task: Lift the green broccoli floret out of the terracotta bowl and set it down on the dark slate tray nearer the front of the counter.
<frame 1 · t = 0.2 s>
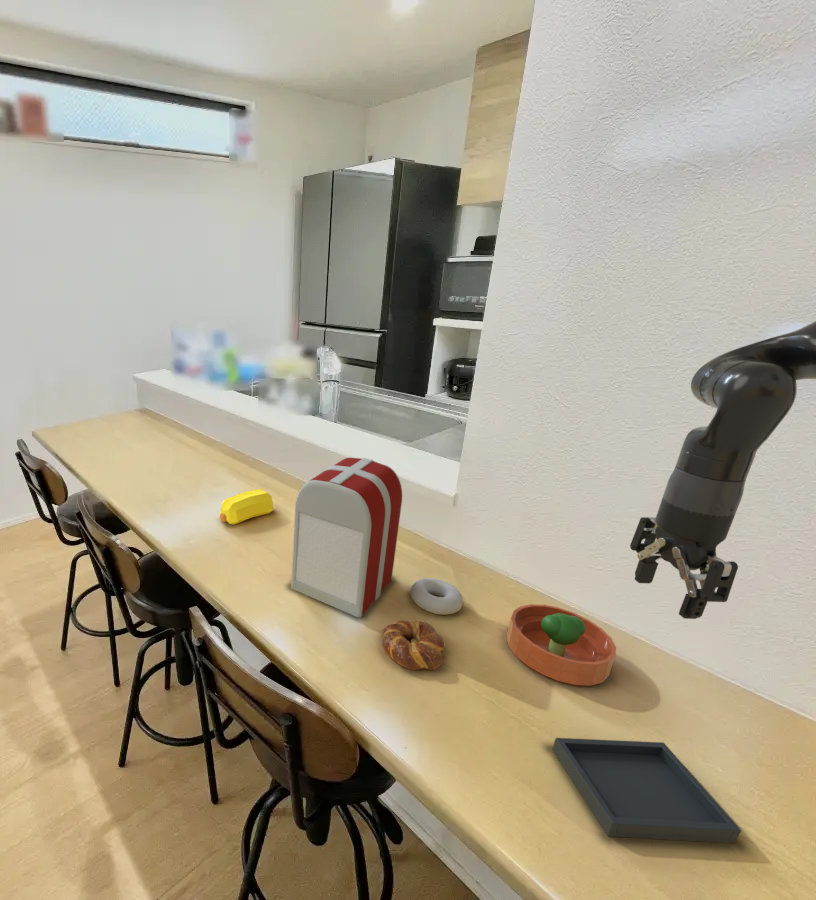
hand: (663, 598, 74), 18 cm above the breakfast bar, tool pointing down, fingers open, 8 cm apart
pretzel: (412, 650, 89), on the breakfast bar
yellow faceted capsule: (246, 516, 139), on the breakfast bar
red grey arched block: (342, 583, 109), on the breakfast bar
broccoli: (555, 651, 88), point 1 cm above the breakfast bar, touching bowl
bowl: (554, 654, 88), on the breakfast bar
tray: (635, 792, 65), on the breakfast bar
donut: (435, 603, 102), on the breakfast bar
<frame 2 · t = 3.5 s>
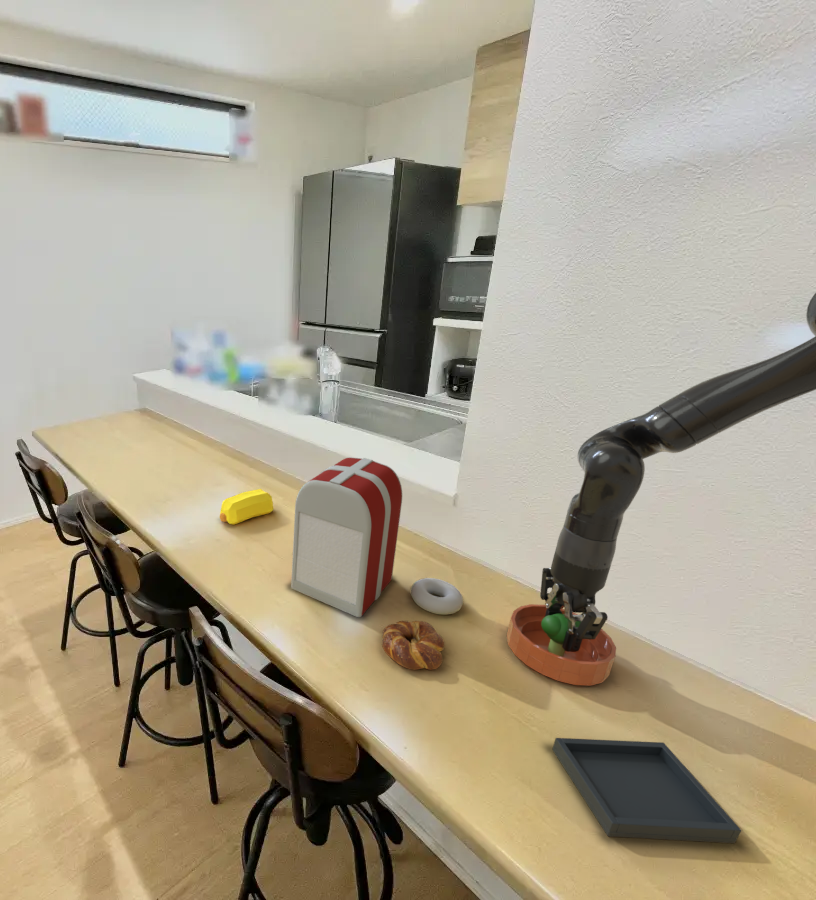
hand: (559, 638, 87), 4 cm above the breakfast bar, tool pointing down, fingers closed on broccoli, 5 cm apart
broccoli: (555, 651, 88), point 1 cm above the breakfast bar, touching bowl, gripper
everything else where it was.
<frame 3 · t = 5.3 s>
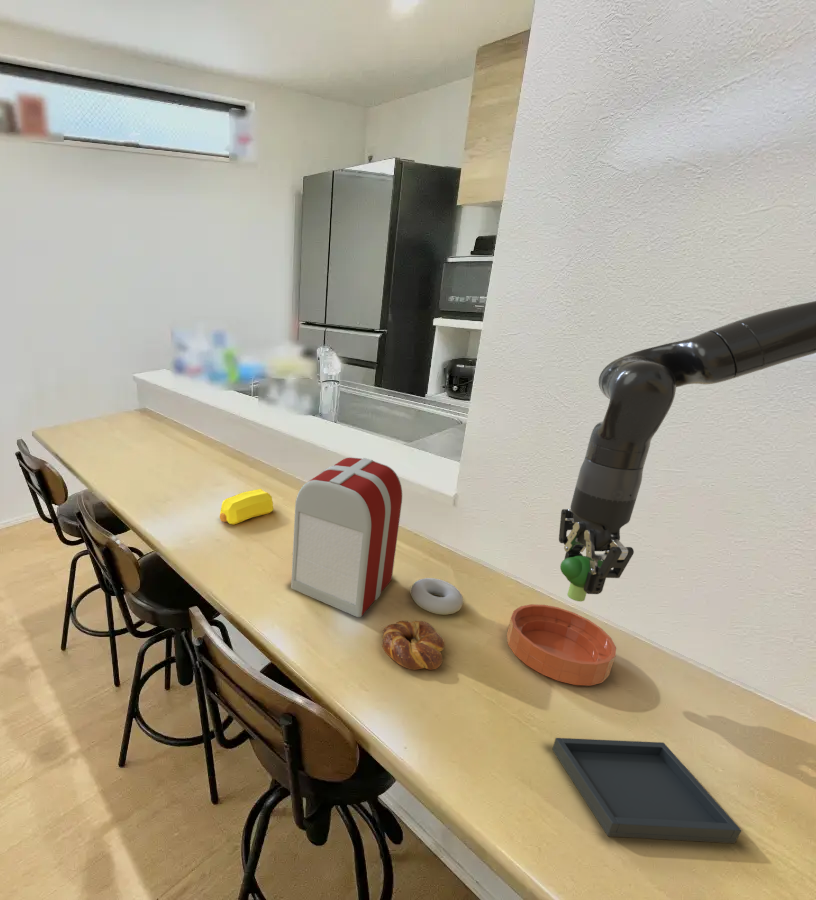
hand: (580, 581, 81), 16 cm above the breakfast bar, tool pointing down, fingers closed on broccoli, 5 cm apart
broccoli: (575, 597, 82), point 13 cm above the breakfast bar, touching gripper
everything else where it was.
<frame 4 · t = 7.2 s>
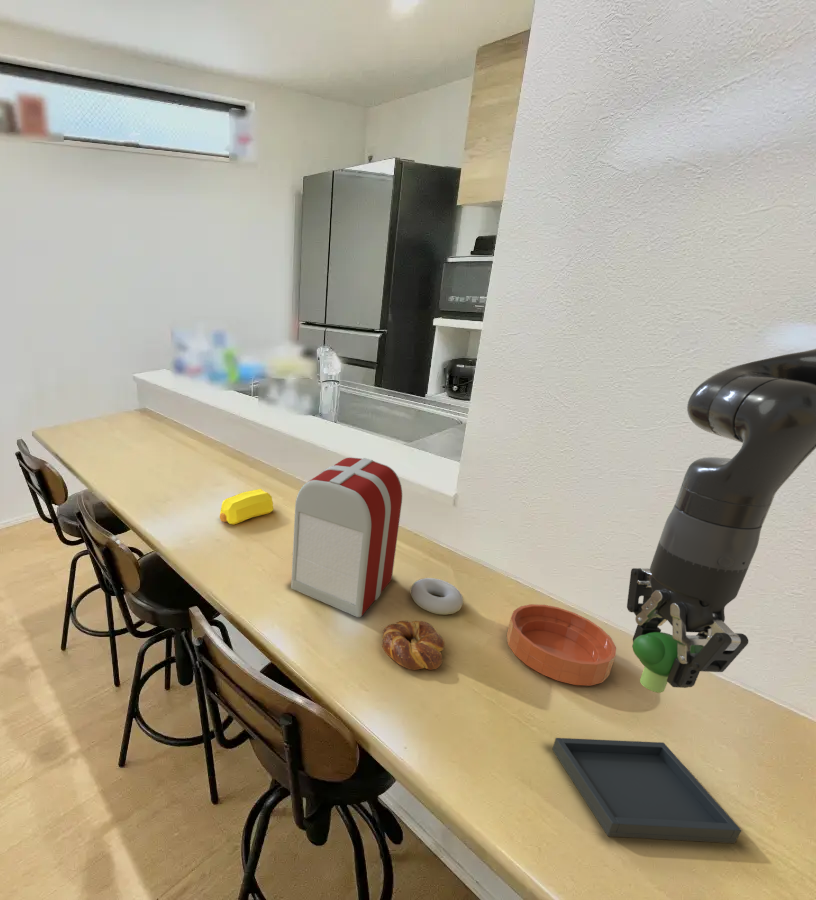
hand: (659, 666, 62), 18 cm above the breakfast bar, tool pointing down, fingers closed on broccoli, 5 cm apart
broccoli: (651, 685, 63), point 15 cm above the breakfast bar, touching gripper
everything else where it was.
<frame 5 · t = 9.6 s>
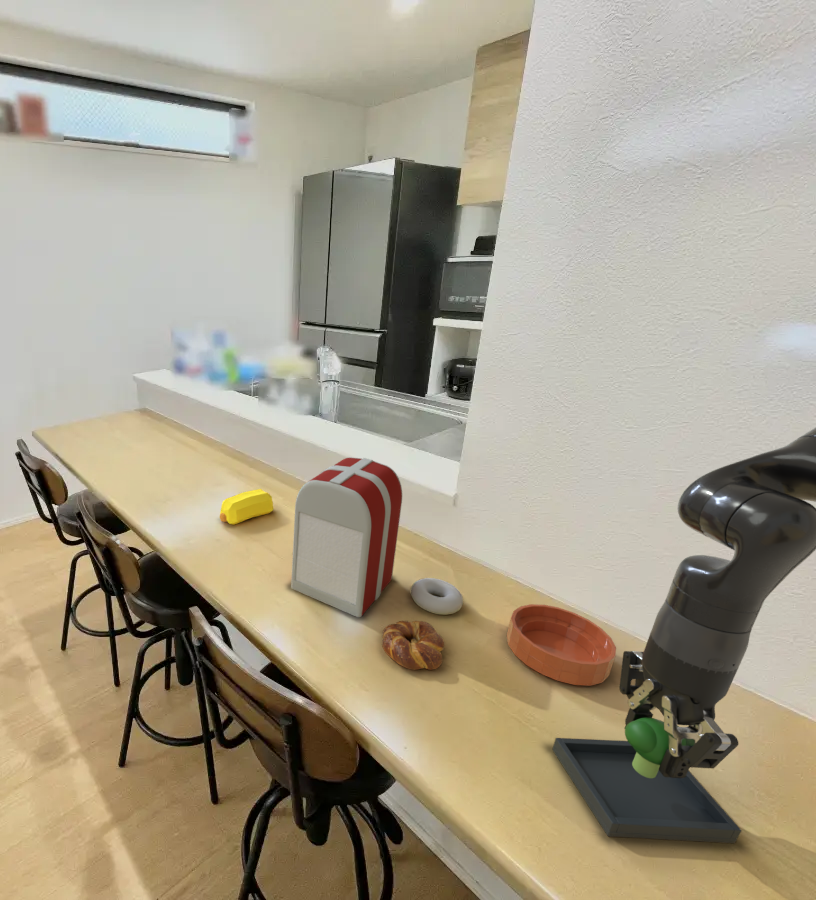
hand: (651, 752, 62), 7 cm above the breakfast bar, tool pointing down, fingers closed on broccoli, 5 cm apart
broccoli: (643, 769, 63), point 4 cm above the breakfast bar, touching gripper
everything else where it was.
when the fingers open (4 cm above the breakfast bar, at t = 11.1 s): broccoli stays where it is, resting on tray.
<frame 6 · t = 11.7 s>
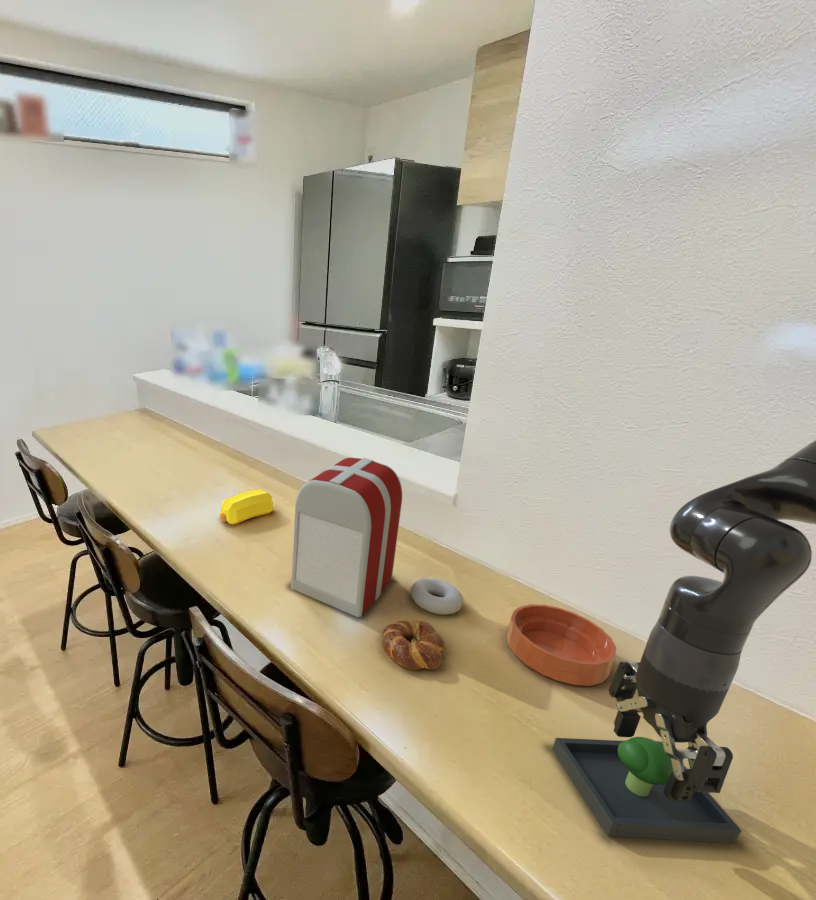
hand: (646, 764, 63), 5 cm above the breakfast bar, tool pointing down, fingers open, 8 cm apart
broccoli: (636, 788, 64), point 1 cm above the breakfast bar, touching tray
everything else where it was.
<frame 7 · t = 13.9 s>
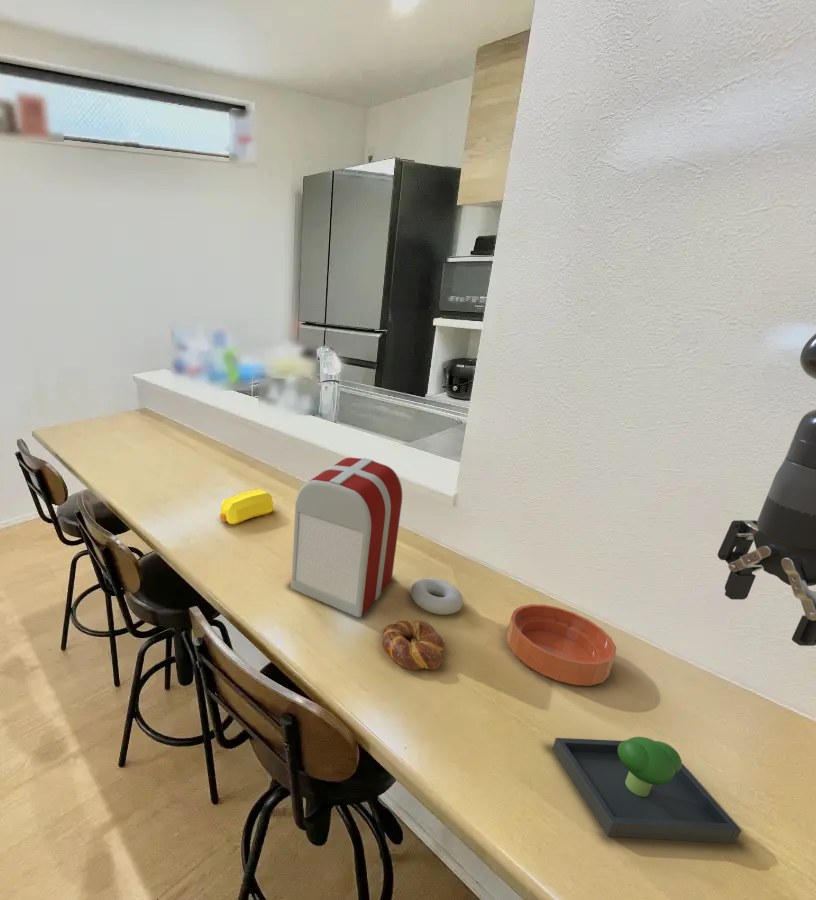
hand: (766, 619, 61), 24 cm above the breakfast bar, tool pointing down, fingers open, 8 cm apart
nothing on the breakfast bar moved.
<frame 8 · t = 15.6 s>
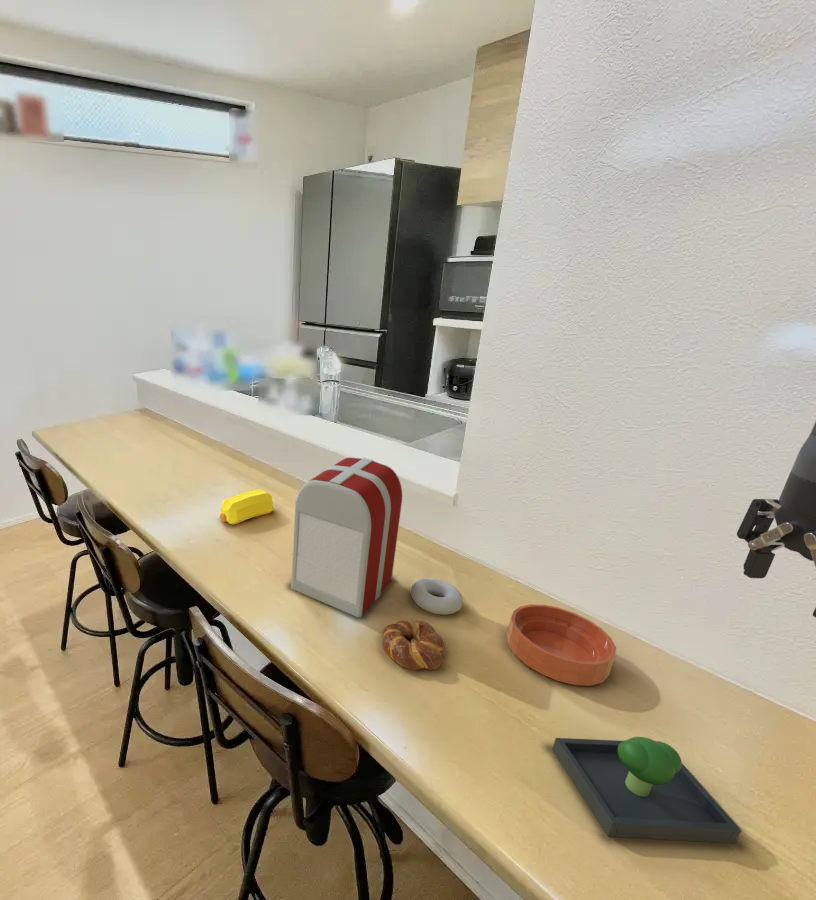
hand: (786, 596, 61), 26 cm above the breakfast bar, tool pointing down, fingers open, 8 cm apart
nothing on the breakfast bar moved.
at the end: broccoli inside the target area in the tray (0.0 cm from its centre), point 0.8 cm above the tray's base; the gripper is holding nothing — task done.
